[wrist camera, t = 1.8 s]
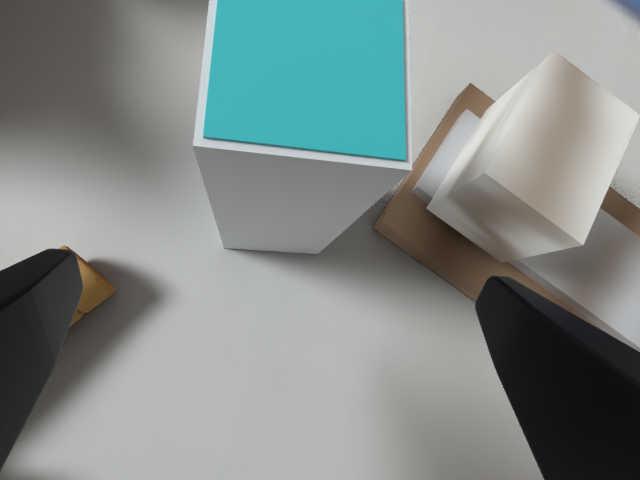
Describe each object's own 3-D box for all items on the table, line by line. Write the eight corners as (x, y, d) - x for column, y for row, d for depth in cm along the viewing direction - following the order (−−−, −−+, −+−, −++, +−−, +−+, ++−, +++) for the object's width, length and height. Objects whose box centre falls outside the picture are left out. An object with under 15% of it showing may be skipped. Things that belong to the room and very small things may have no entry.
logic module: (317, 254, 20) (414, 168, 9) (224, 248, 19) (192, 143, 8) (320, 169, 21) (409, -9, 10) (231, 159, 20) (213, -50, 9)
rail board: (749, 313, 25) (942, 312, 18) (708, 468, 22) (921, 537, 15) (457, 96, 24) (543, 6, 17) (372, 228, 21) (434, 183, 14)
